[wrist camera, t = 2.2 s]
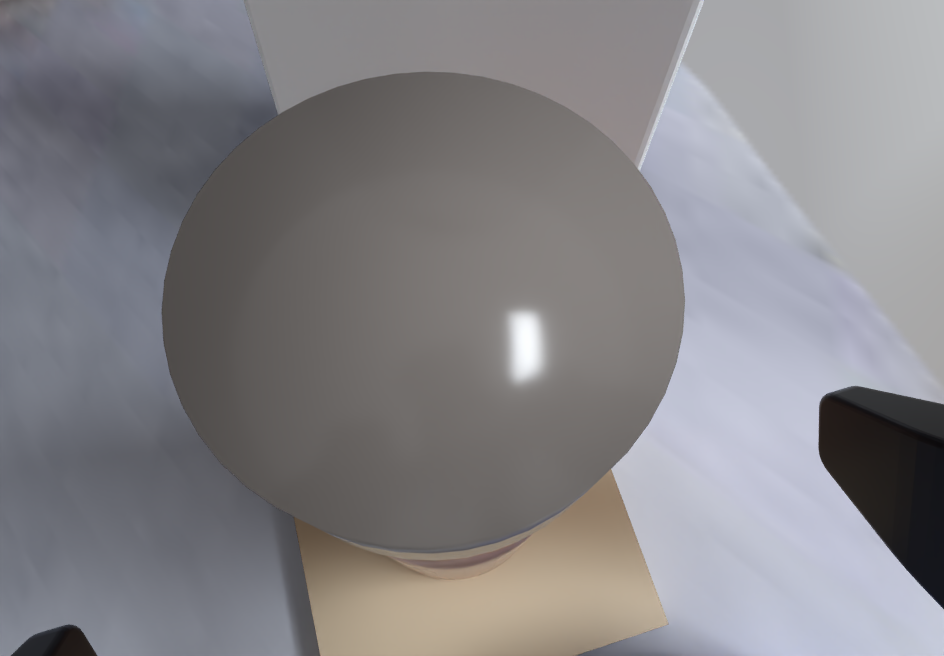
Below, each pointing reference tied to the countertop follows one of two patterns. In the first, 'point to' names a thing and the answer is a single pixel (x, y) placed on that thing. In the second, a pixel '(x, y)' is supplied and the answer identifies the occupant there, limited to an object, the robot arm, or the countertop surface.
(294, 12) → the milk carton
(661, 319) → the spice jar
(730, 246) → the countertop surface
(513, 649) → the cork mat
